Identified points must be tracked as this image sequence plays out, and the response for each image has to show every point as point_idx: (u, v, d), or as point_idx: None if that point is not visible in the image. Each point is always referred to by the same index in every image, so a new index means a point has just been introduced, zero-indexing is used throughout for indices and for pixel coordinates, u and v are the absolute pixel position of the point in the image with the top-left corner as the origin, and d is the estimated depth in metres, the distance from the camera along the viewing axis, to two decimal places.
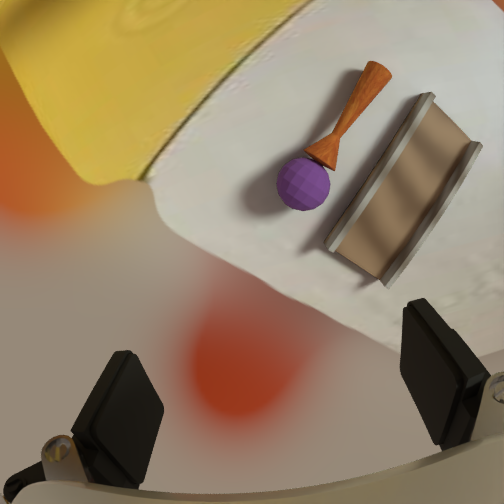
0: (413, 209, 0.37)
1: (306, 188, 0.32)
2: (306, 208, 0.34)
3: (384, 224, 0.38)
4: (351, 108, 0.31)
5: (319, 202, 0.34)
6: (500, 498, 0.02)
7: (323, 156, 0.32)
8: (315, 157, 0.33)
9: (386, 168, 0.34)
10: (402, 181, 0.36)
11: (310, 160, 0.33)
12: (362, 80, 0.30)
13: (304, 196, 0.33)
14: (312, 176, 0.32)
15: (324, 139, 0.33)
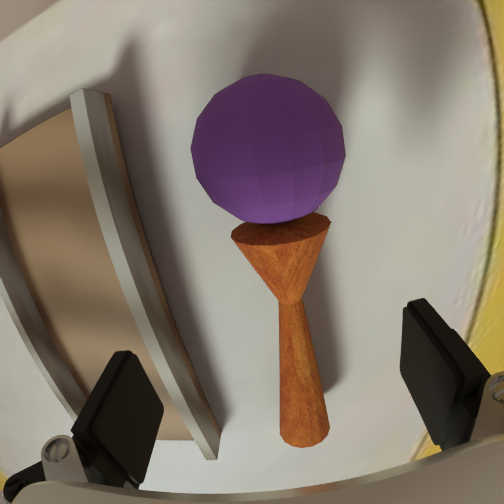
0: (55, 299, 0.17)
1: (270, 149, 0.09)
2: (216, 103, 0.10)
3: (57, 233, 0.16)
4: (307, 365, 0.15)
5: (201, 145, 0.10)
6: (500, 498, 0.02)
7: (291, 252, 0.12)
8: (302, 232, 0.12)
9: (147, 328, 0.15)
10: (108, 320, 0.18)
11: None
12: (322, 407, 0.17)
13: (253, 125, 0.09)
14: (280, 191, 0.10)
15: (309, 277, 0.14)
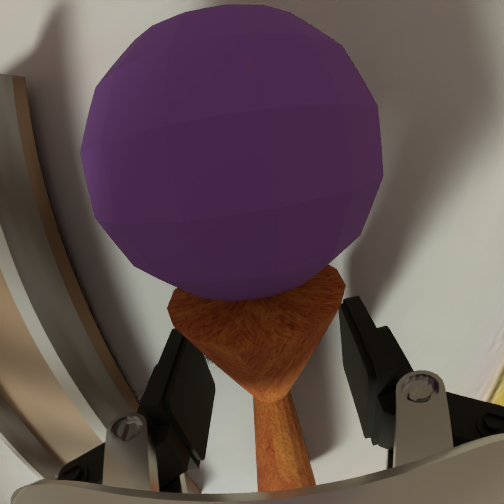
0: None
1: (215, 153, 0.04)
2: (119, 60, 0.04)
3: None
4: (293, 464, 0.09)
5: (85, 148, 0.04)
6: (500, 498, 0.02)
7: (270, 355, 0.06)
8: (294, 315, 0.06)
9: (84, 405, 0.09)
10: (47, 377, 0.12)
11: None
12: None
13: (176, 93, 0.03)
14: (245, 254, 0.04)
15: (301, 369, 0.08)
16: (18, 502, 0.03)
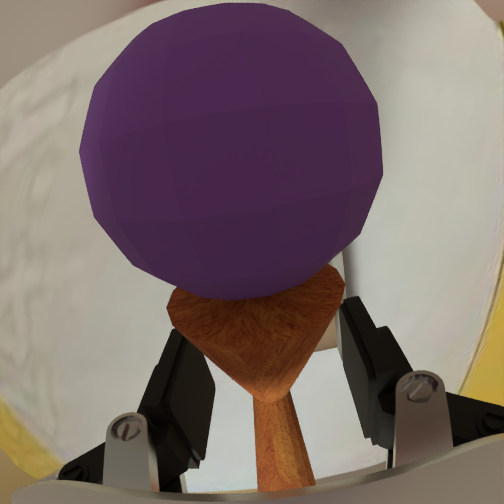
0: None
1: (215, 150, 0.03)
2: (118, 58, 0.04)
3: None
4: (293, 464, 0.09)
5: (83, 146, 0.04)
6: (500, 498, 0.02)
7: (270, 354, 0.06)
8: (293, 315, 0.06)
9: None
10: None
11: None
12: None
13: (175, 90, 0.03)
14: (245, 253, 0.04)
15: (301, 368, 0.08)
16: (18, 502, 0.03)
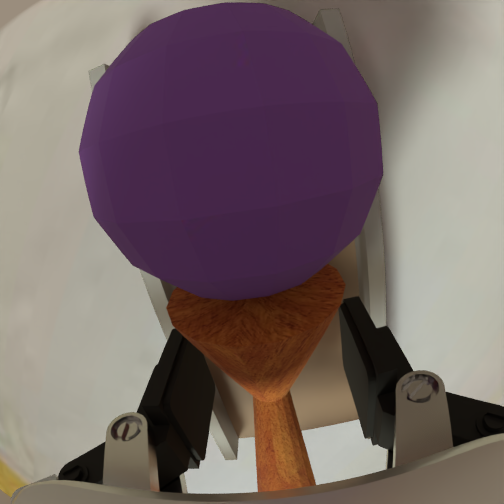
0: None
1: (214, 150, 0.03)
2: (118, 58, 0.04)
3: None
4: (293, 464, 0.09)
5: (83, 146, 0.04)
6: (500, 498, 0.02)
7: (270, 355, 0.06)
8: (293, 315, 0.06)
9: (379, 284, 0.13)
10: None
11: None
12: None
13: (175, 90, 0.03)
14: (244, 253, 0.04)
15: (301, 368, 0.08)
16: (18, 502, 0.03)
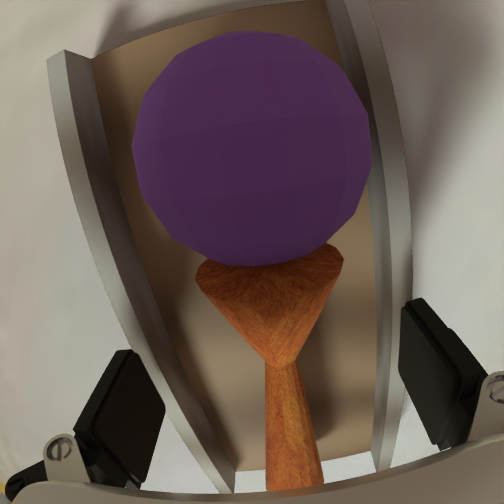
0: None
1: (251, 147, 0.05)
2: (166, 72, 0.06)
3: None
4: (300, 431, 0.11)
5: (138, 141, 0.06)
6: (500, 498, 0.02)
7: (284, 312, 0.07)
8: (302, 280, 0.08)
9: None
10: None
11: None
12: (317, 467, 0.12)
13: (222, 104, 0.05)
14: (269, 222, 0.06)
15: (308, 334, 0.09)
16: (18, 502, 0.03)
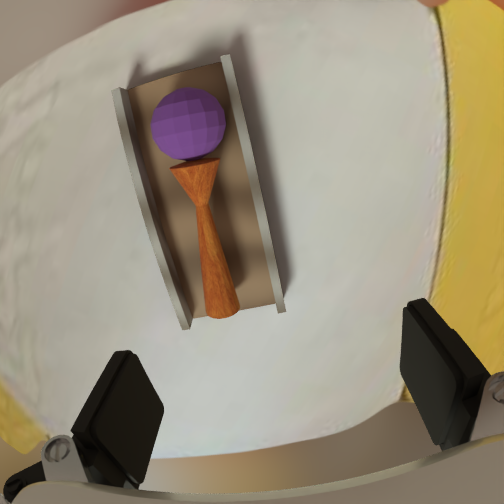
0: (175, 188, 0.28)
1: (181, 121, 0.21)
2: (161, 103, 0.21)
3: None
4: (213, 246, 0.27)
5: (154, 122, 0.21)
6: (500, 498, 0.02)
7: (195, 171, 0.23)
8: (201, 162, 0.23)
9: (257, 191, 0.26)
10: (218, 199, 0.29)
11: (203, 154, 0.23)
12: (229, 284, 0.28)
13: (174, 112, 0.20)
14: (186, 140, 0.21)
15: (209, 189, 0.25)
16: (18, 502, 0.03)
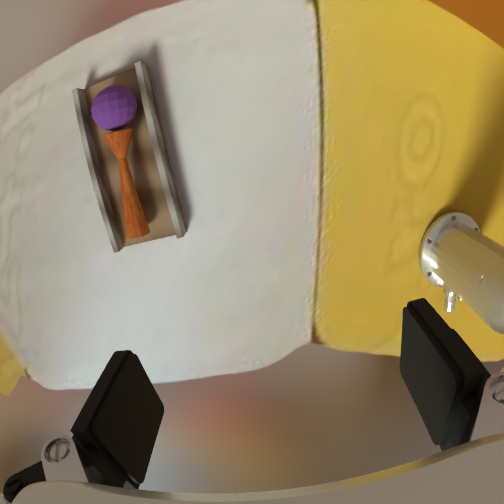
0: (111, 151, 0.39)
1: (104, 106, 0.31)
2: (96, 96, 0.32)
3: None
4: (128, 186, 0.37)
5: (91, 107, 0.32)
6: (500, 498, 0.02)
7: (114, 136, 0.34)
8: (118, 130, 0.34)
9: (157, 148, 0.37)
10: (137, 157, 0.39)
11: (120, 125, 0.34)
12: (139, 213, 0.39)
13: (101, 100, 0.31)
14: (107, 116, 0.32)
15: (125, 148, 0.35)
16: (18, 502, 0.03)
